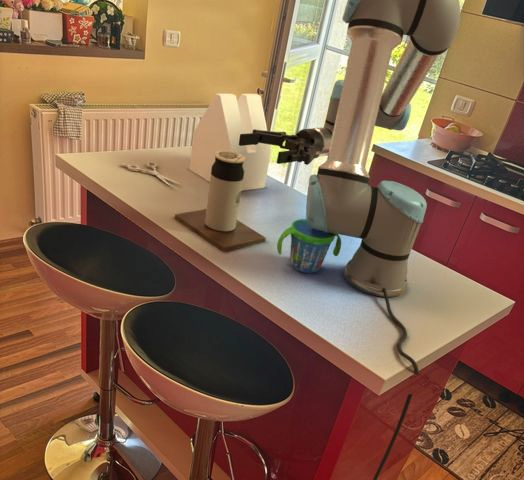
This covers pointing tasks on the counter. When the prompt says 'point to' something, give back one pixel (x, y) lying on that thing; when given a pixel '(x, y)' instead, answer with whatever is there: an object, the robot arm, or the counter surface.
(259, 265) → the counter surface
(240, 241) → the walnut board
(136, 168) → the scissors
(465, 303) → the counter surface
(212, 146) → the white slotted tapered block
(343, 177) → the robot arm
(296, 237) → the snack cup
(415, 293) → the counter surface
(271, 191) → the counter surface
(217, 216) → the travel mug
